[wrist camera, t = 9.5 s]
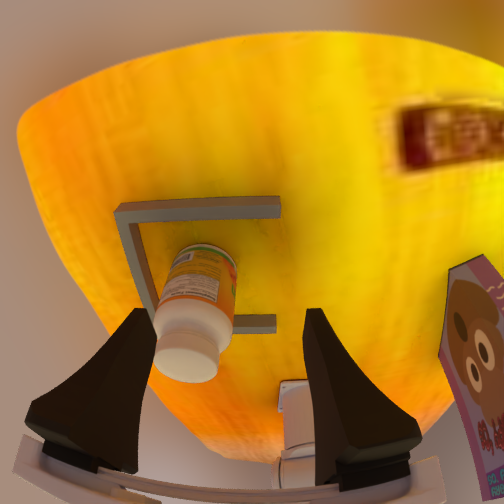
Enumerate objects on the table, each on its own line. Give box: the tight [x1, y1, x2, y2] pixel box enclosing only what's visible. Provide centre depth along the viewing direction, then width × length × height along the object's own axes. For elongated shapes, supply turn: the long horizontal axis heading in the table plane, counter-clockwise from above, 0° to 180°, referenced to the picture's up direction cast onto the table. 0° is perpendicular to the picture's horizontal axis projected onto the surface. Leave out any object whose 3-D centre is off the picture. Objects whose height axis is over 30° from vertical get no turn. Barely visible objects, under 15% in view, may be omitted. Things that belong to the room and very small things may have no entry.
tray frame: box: [113, 196, 281, 334], centre depth 24 cm, size 13×12×2 cm
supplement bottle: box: [153, 244, 237, 383], centre depth 20 cm, size 5×5×10 cm
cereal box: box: [438, 254, 504, 501], centre depth 18 cm, size 17×5×24 cm, turn 23°
